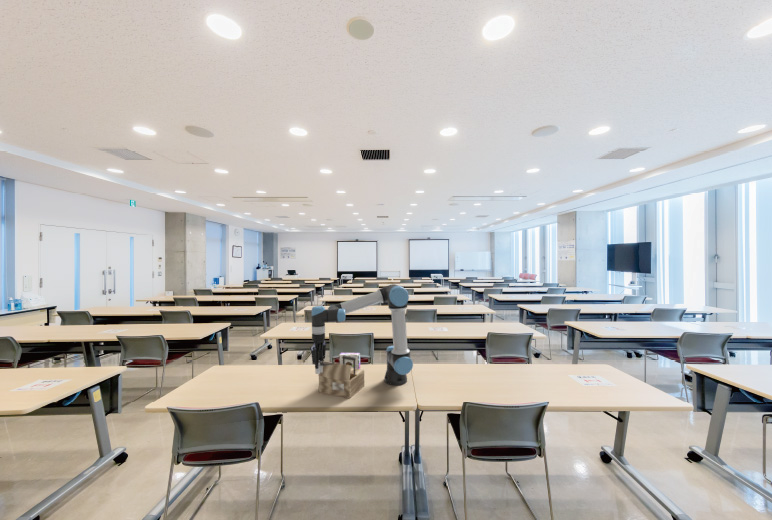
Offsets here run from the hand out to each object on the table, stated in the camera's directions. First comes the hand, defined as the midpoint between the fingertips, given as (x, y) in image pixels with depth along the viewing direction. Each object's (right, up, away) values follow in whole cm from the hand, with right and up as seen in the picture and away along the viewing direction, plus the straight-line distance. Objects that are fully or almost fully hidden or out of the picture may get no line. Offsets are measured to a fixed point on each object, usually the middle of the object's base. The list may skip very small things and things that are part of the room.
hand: (319, 372), depth 185 cm
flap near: (+8, -1, +6) cm, 10 cm away
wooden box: (+12, -15, +13) cm, 23 cm away
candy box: (+15, -15, +32) cm, 38 cm away
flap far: (+13, -5, +17) cm, 22 cm away
